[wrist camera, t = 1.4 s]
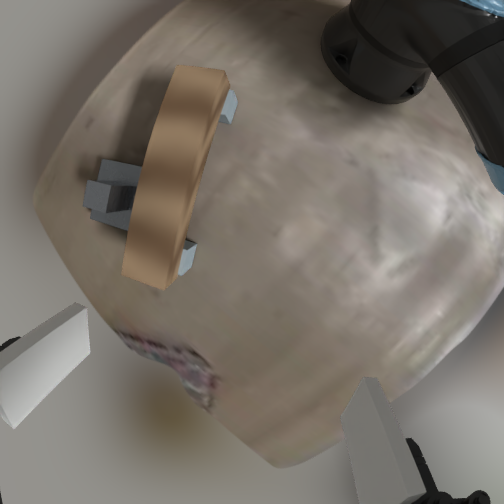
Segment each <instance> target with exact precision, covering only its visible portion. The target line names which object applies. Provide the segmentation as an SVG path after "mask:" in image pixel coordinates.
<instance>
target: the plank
mask: <svg viewBox="0 0 504 504" xmlns="http://www.w3.org/2000/svg"><path fill="white" fill-rule="evenodd" d="M229 89H230V83H229V81H228V78H227V75H226V73H225V71H224V70H217V69H210V68H203V67H194V66H184V65H177V66H176V68H175V71H174V73H173V75H172V78H171V80H170V83H169V85H168V88H167V91H166V93H165V96H164V99H163V101H162V104H161V107H160V110H159V113H158V116H157V119H156V122H155V125H154V128H153V131H152V134H151V138H150V141H149V144H148V148H147V151H146V155H145V158H144V162H143V166H142V169H141V173H140V177H139V181H138V185H137V190H136V194H135V199H134V203H133V208H132V213H131V218H130V223H129V228H128V234H127V240H126V246H125V252H124V259H123V267H122V274H121V275H123V276H126V277H129V278H131V279H134V280H137V281H139V282H142V283H145V284H147V285H150V286H153V287H156V288H159V289H161V290H165V289H166V288H167V287H168V286H169V285H170V284H171V283H172V282H174V281H175V280H176V279H177V275H178V270H179V266H180V261H181V256H182V252H183V247H184V243H185V239H186V235H187V230H188V226H189V222H190V218H191V214H192V210H193V206H194V203H195V199H196V195H197V191H198V188H199V184H200V180H201V177H202V173H203V170H204V166H205V163H206V159H207V156H208V153H209V149H210V146H211V143H212V140H213V136H214V133H215V130H216V127H217V124H218V121H219V118H220V115H221V112H222V109H223V106H224V103H225V100H226V97H227V94H228V92H229Z"/></svg>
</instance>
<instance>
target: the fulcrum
mask: <svg viewBox="0 0 504 504" xmlns="http://www.w3.org/2000/svg"><path fill="white" fill-rule="evenodd" d="M141 169H142V167H141V166H137V165H132V164H127V163H122V162H117V161H112V160H106V159H102V162H101V166H100V170H99V174H98V179H97V180H87V185H86V190H85V196H84V201H83V207H87V208H90V209H92V210H91V216H90V219H93V220H96V221H99V222H102V223H105V224H108V225H111V226H114V227H117V228H120V229H123V230H126V231H128V228H129V223H130V218H131V213H132V208H133V203H134V199H135V194H136V190H137V185H138V181H139V177H140V173H141Z"/></svg>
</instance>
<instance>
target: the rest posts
mask: <svg viewBox="0 0 504 504" xmlns="http://www.w3.org/2000/svg"><path fill="white" fill-rule="evenodd" d="M237 104H238V101H237V98H236V96H235V93H234V91H233V90H229V92H228V94H227V97H226V100H225V103H224V106H223V109H222V112H221V115H220V118H219V121H218V122H222V123H227V124H231V122H232V119H233V116H234V113H235V110H236V107H237ZM196 246H197V244H196V243H193V242H189V241H186V240H185V243H184V247H183V252H182V256H181V261H180V266H179V270H178V275H181V276H182V275H183V274H184V273H185V272H186V271H187V270H188V269H190V268H191V267H192V263H193V258H194V254H195V250H196Z"/></svg>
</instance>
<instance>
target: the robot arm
mask: <svg viewBox="0 0 504 504" xmlns="http://www.w3.org/2000/svg"><path fill="white" fill-rule="evenodd" d="M321 49H322V54H323V57H324V59H325V61H326V63H327V65H328V67H329V68H330V70H331V71H332V72H333V74H334V75H335V76H336V77H337V78H338V79H339V80H340V81H341V82H342V83H343V84H344V85H345V86H347V87H348V88H349V89H351V90H352V91H354V92H355V93H357V94H359V95H361V96H363V97H365V98H367V99H369V100H372V101H375V102H379V103H385V104H398V103H403V102H406V101H408V100H410V99H411V98H413V97H414V96H416V95H417V94H419V93H420V92H421V91H422V90H423V88H424V87H425V85H426V83H427V81H428V79H429V76H430V74H431V72H433V73H434V75H435V76H436V78H437V79H438V81H439V82H440V84H441V85H442V87H443V88H444V90H445V91H446V93H447V95H448V96H449V98H450V99H451V101H452V103H453V104H454V106H455V108H456V109H457V111H458V113H459V115H460V116H461V118H462V120H463V122H464V124H465V126H466V127H467V129H468V131H469V133H470V135H471V137H472V140H473V142H474V144H475V149H476V152H477V154H478V156H479V157H480V158H481V159H482V161H483V163H484V165H485V167H486V170H487V172H488V174H489V176H490V179H491V181H492V183H493V184H494V186H495V187H496V189H497V190H498V191H499V192H501V193H502V194H503V195H504V0H351V2H350V4H348V5H347V6H346V7H344V8H343V9H342V10H340V11H339V12H338V13H337V14H335V15H334V16H333V17H332V18H331V19H330V20H329V21H328V23H327V24H326V26H325V29H324V31H323V35H322V38H321ZM89 354H90V344H89V333H88V318H87V307H85V306H83V305H80V304H78V303H76V302H75V303H74V304H72V305H70V306H69V307H67V308H66V309H64V310H63V311H61V312H59V313H58V314H56V315H55V316H53V317H52V318H50V319H49V320H47V321H45V322H44V323H42V324H41V325H40V326H38V327H36V328H35V329H33V330H32V331H30V332H29V333H27V334H26V335H24V336H23V337H16V338H12V339H9V340H8V341H6V342H5V343H3V344H2V346H0V415H1V417H2V419H3V420H4V421H5V422H6V423H8V424H9V425H10V426H11V427H12V428H13V429H15V428H16V427H17V426H18V425H19V423H21V421H22V420H23V419H24V418H25V417H26V416H27V415H28V414H29V413H30V412H31V411H32V410H33V409H34V408H35V407H36V406H37V405H38V404H39V403H40V402H41V401H42V400H43V399H44V398H45V397H46V396H47V395H48V394H49V393H50V392H51V390H53V389H54V388H55V387H56V386H57V385H58V384H59V383H60V381H62V380H63V379H64V378H65V377H66V376H67V375H68V374H69V373H70V372H71V371H72V370H73V369H74V368H75V367H76V366H77V365H78V364H79V363H80V362H81V361H82V360H83V359H84V358H86V357H87V356H88V355H89ZM340 419H341V423H342V427H343V431H344V435H345V440H346V444H347V448H348V452H349V457H350V461H351V466H352V471H353V475H354V481H355V485H356V491H357V496H358V501H359V504H490V498H489V496H488V494H487V493H486V492H484V491H481V490H478V491H475V492H473V493H472V494H471V495H470V496H468V497H467V498H458V499H453V498H452V497H451V495H449V494H448V493H446V492H439V491H438V489H437V487H436V485H435V482H434V480H433V478H432V475H431V473H430V471H429V468H428V466H427V464H426V461H425V459H424V457H422V456H423V455H422V452H421V450H420V448H419V446H418V445H417V444H416V443H415V442H414V441H413V440H412V438H407V439H405V437H404V435H403V433H402V430H401V428H400V426H399V424H398V421H397V419H396V417H395V415H394V413H393V410H392V408H391V406H390V404H389V402H388V400H387V398H386V396H385V393H384V391H383V389H382V387H381V385H380V383H379V381H378V379H377V378H371V377H363V378H362V380H361V382H360V384H359V385H358V387H357V389H356V391H355V393H354V394H353V396H352V398H351V400H350V401H349V403H348V405H347V407H346V408H345V410H344V412H343V413H342V415H341V416H340ZM0 504H2V498H1V493H0Z"/></svg>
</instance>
